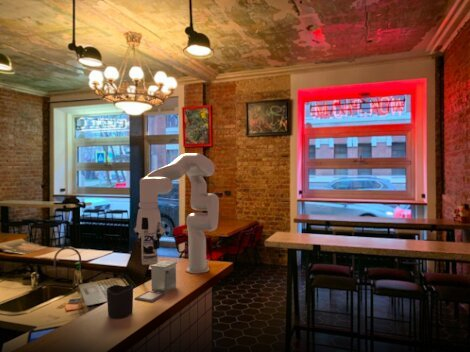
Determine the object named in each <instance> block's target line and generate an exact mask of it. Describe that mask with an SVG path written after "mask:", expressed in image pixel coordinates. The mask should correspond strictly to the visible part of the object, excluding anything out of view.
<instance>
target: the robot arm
mask: <svg viewBox="0 0 470 352" xmlns="http://www.w3.org/2000/svg"><path fill="white" fill-rule="evenodd" d="M215 167H216V166H215V164H214V162H213V161H212V160H211V159H209V158H208V157H206V156H205V155H204V154H202V153H198V152H195V153H183V154H180V155H179V156H178V157H176V158H175V159H174V160H173V161H172V162H171V163H169V164H167V165H165V166H162V167H160V168H157V169H155V170H152V171H151V172H149V173H148V174H147V175H146V176H144V177H141V178H140V179H139V203H138V207H139V209H138V210H137V216H136V226H135V227H134V228H133V230H134V233H135V234H136V236H137V238H138V239H139V248H140V249H141V233H142V232H141V231H142V218H143V217H144V218H148V224H149V226H148V233H149V234H153V236H154V239H155V240H153V249H157V250H158V249H160V239H161V238H162V237H163V236H164V234H165V233H166V230H165V228H164V227H163V226H162V221H161V220H162V218H161V213H160V209H159V195H166V194H169V193H170V192H171V191H172V190H173V187H174V186H173V185H174V184H173V181H177V180H180V179H181V178H183V176H184V175H186V176H187V177H188V179H189V182H190V184H191V185H190V188H191V189H190V207H191V209H192V210H195V211H207V212H192V213H189V214H188V215H187V217H186V219H185V220H186V221H185V223H186V226H187V227H186V229H187V234H188V235H187V236H188V238H187V239H188V240H187V242H188V245H187V246H188V266H187V267H186V268H185V272H187V274H188V273H189V274H203V273H206V272H209V271H210V268H209V266H207V264H210V260H209V259H207V238H206V235H205V232H206V231H207V232H213V231H215V230H217V228H218V224H219V215H220V213H219V211H220V210H219V209H220V200H219V197H218V195H217V194H215V193H213V192H210V193H209V192H207V190H208V188H207V182H206V180H205V178H204V177H210V176H213V175H214V174H215V169H216V168H215ZM204 231H205V232H204ZM156 234H157V235H156Z"/></svg>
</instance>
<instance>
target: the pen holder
mask: <svg viewBox="0 0 470 352" xmlns="http://www.w3.org/2000/svg"><path fill="white" fill-rule="evenodd" d="M106 296H107V297H106V298H107V299H106V300H107V301H106V302H107V314H108V317H109V318H110V319H115V320H120V319H125V318H127V317H130V316H131V315H132V314H133V309H134V308H133V306H134V305H133V304H134V285H133V284H128V285H120V284H119V285H118V284H114V285H111V286H109V287H107V288H106Z"/></svg>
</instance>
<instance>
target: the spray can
mask: <svg viewBox="0 0 470 352" xmlns="http://www.w3.org/2000/svg"><path fill="white" fill-rule="evenodd" d="M148 226H149V224H148V218H144V217H143V218H142V231H141V232H142V233H141V248H140V249H141V264H142V265H143V266H150V265H154V264H157V263H158V262H159V261H158V258H159V257H158V249H153V240H155V239H154V236H153V234H149V233H148ZM156 235H157V234H156Z"/></svg>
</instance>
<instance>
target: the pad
mask: <svg viewBox="0 0 470 352" xmlns="http://www.w3.org/2000/svg"><path fill="white" fill-rule="evenodd" d="M165 296H166V293H165V294H164V293H158V292H152V290H149V291H146V292H144V293H141V294H140V295H137V296H136V297H134V300H136V301H141V302H142V301H143V302H146V301H147V302H146V303H154V302H155V301H158V300H159V299H161V298H163V297H165Z"/></svg>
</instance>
